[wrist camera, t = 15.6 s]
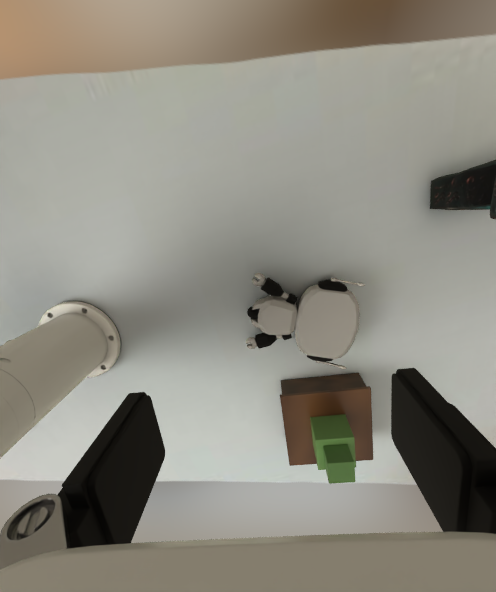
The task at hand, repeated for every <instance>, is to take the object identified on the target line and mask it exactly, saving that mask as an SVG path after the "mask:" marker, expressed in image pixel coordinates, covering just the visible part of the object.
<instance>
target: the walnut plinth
mask: <svg viewBox="0 0 496 592" xmlns="http://www.w3.org/2000/svg"><path fill="white" fill-rule="evenodd" d="M281 387H282V395H280V399H281V406H282V413H283V420H284V428H285V435H286V442H287V449H288V456H289V464H290V466H291V465H305V464H317V461H316V456H315V451H314V447H313V439H312V430H311V420H310V417H319V416H330V415H342V414H345V415H346V418H347V420H348V423H349V425H350V428H351V430H352V433H353V435H354V441H355V459H356V461H361V460H373V439H372V409H371V388H370V386H368V387H366V385H365V383H364V381H363V380H362V378H361V376H360V375H359V373H351V374H341V375H331V376H321V377H311V378H301V379H291V380H281Z"/></svg>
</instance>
